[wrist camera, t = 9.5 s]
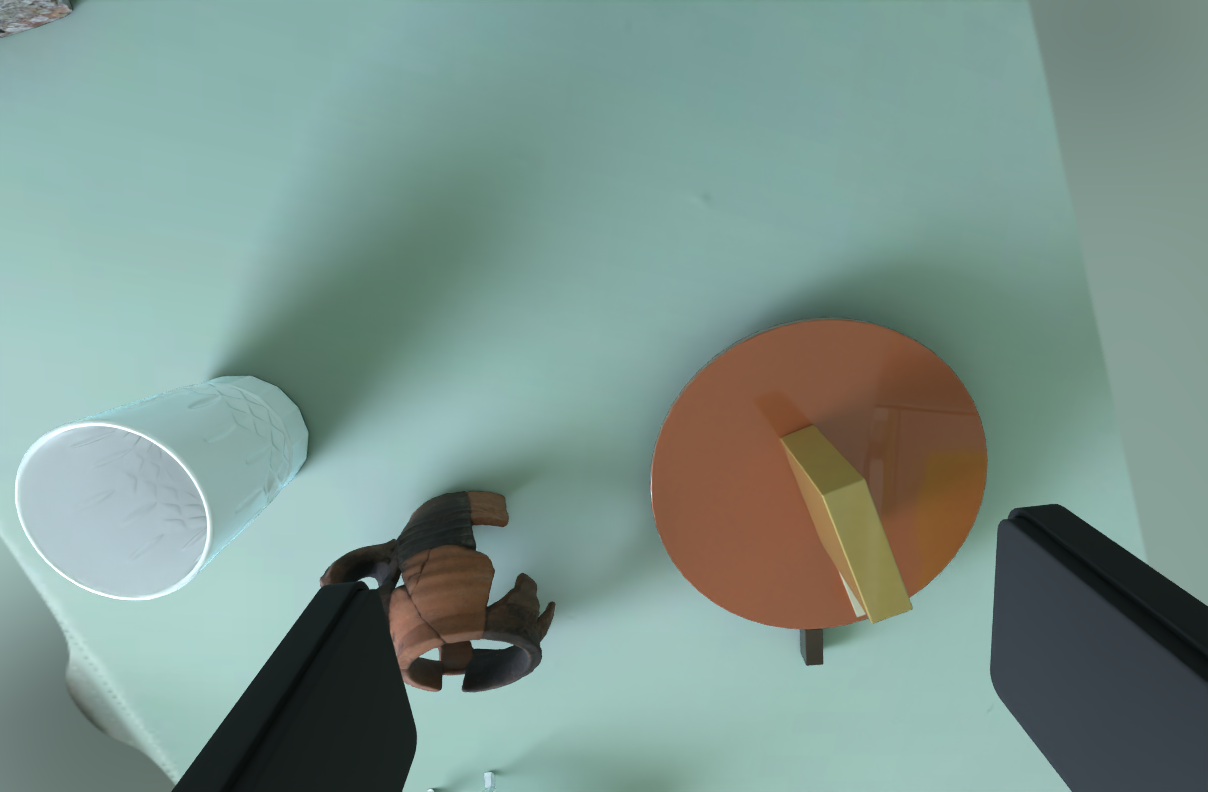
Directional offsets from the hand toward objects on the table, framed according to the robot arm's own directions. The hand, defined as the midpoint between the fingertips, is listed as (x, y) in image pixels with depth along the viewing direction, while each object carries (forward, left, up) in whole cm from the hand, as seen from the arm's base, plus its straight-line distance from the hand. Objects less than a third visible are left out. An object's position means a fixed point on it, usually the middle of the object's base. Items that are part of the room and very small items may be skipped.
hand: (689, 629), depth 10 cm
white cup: (+3, -22, -25) cm, 33 cm away
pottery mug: (+12, -12, -25) cm, 30 cm away
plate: (+8, +8, -23) cm, 26 cm away
